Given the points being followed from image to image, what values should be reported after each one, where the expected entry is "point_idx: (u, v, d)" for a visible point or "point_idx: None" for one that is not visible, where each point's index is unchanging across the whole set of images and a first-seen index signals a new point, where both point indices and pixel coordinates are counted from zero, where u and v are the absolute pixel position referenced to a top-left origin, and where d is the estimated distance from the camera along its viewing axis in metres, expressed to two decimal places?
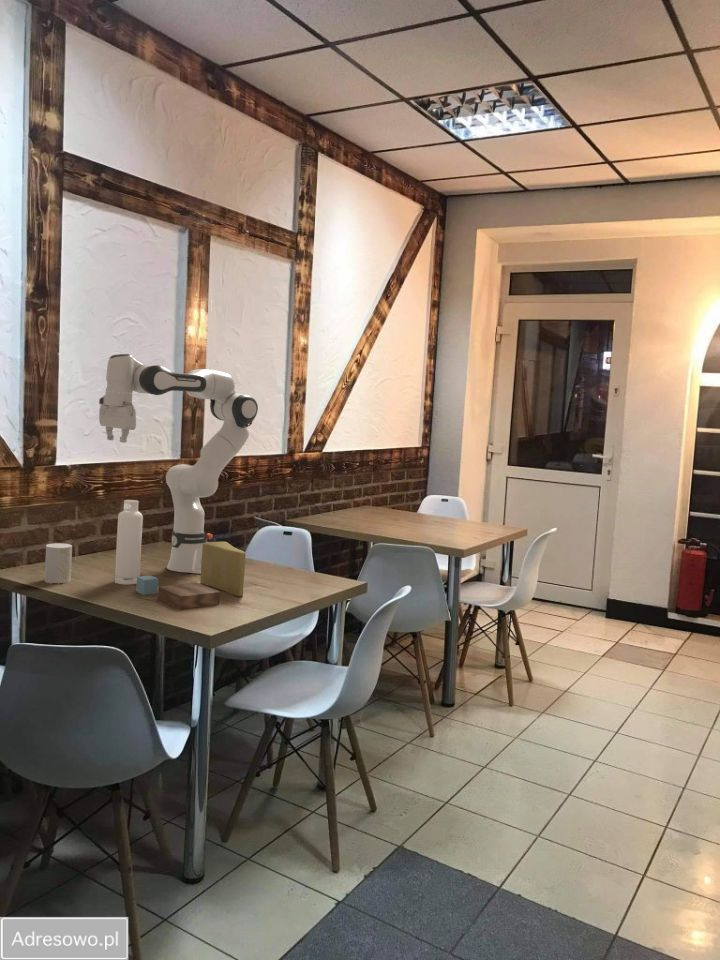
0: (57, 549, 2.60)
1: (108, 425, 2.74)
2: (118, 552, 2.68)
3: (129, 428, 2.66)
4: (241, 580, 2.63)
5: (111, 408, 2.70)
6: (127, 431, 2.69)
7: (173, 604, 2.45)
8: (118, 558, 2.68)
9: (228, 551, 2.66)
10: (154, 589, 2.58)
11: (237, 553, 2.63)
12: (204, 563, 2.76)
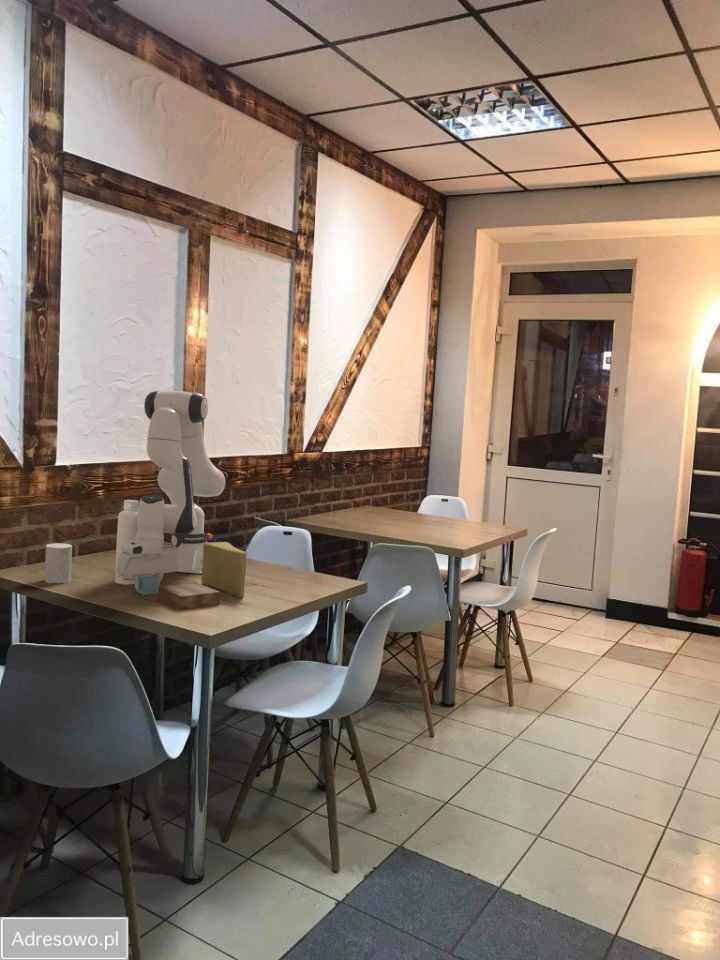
0: (57, 549, 2.60)
1: (142, 573, 2.56)
2: (118, 552, 2.68)
3: None
4: (242, 580, 2.62)
5: (156, 555, 2.57)
6: None
7: (173, 604, 2.45)
8: None
9: (229, 551, 2.66)
10: (154, 588, 2.58)
11: (238, 553, 2.63)
12: (205, 563, 2.75)
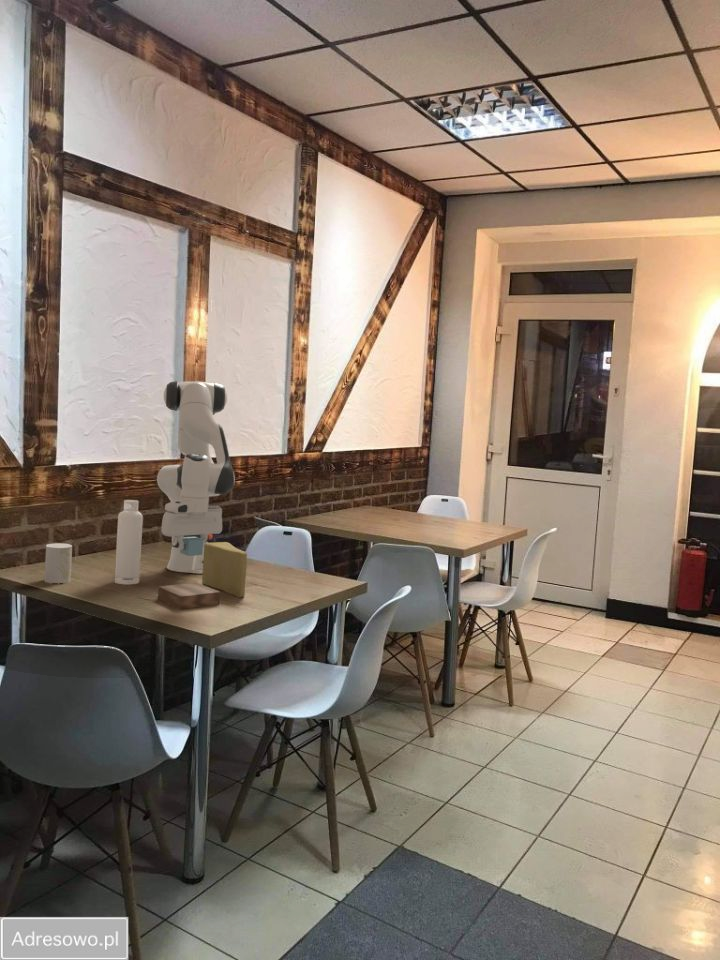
0: (57, 549, 2.60)
1: (186, 534, 2.47)
2: (118, 552, 2.68)
3: None
4: (242, 580, 2.62)
5: (201, 515, 2.48)
6: None
7: (173, 604, 2.45)
8: (118, 558, 2.68)
9: (230, 552, 2.65)
10: (199, 550, 2.50)
11: (238, 554, 2.62)
12: (206, 563, 2.75)
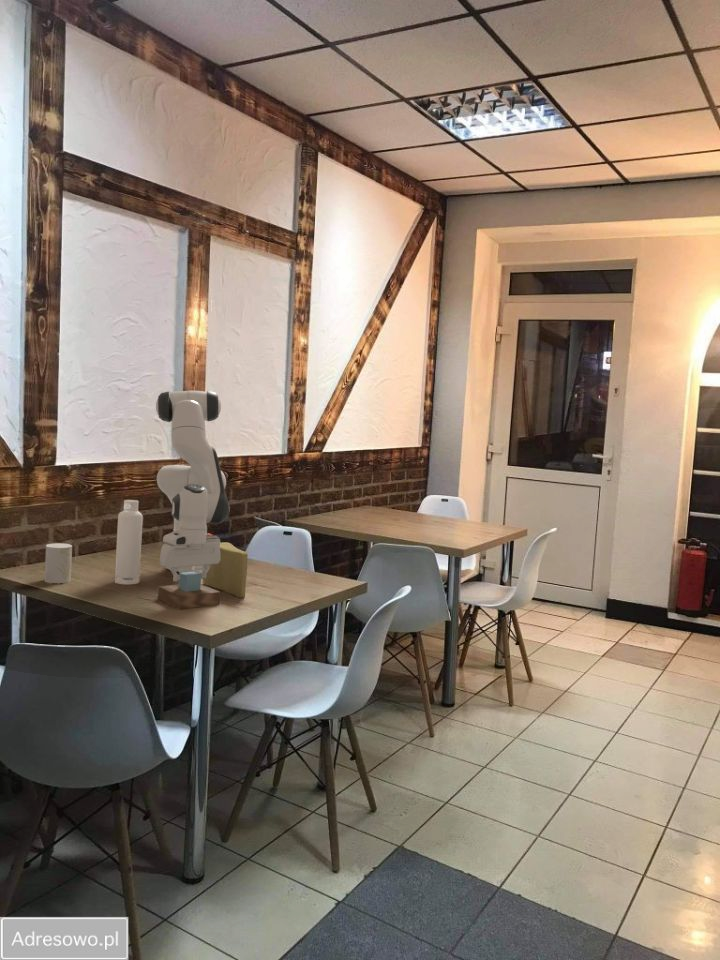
0: (57, 549, 2.60)
1: (185, 565, 2.48)
2: (118, 552, 2.68)
3: None
4: (243, 581, 2.61)
5: (199, 546, 2.49)
6: None
7: (173, 604, 2.45)
8: (118, 558, 2.68)
9: (230, 552, 2.65)
10: (197, 585, 2.51)
11: (239, 554, 2.62)
12: None
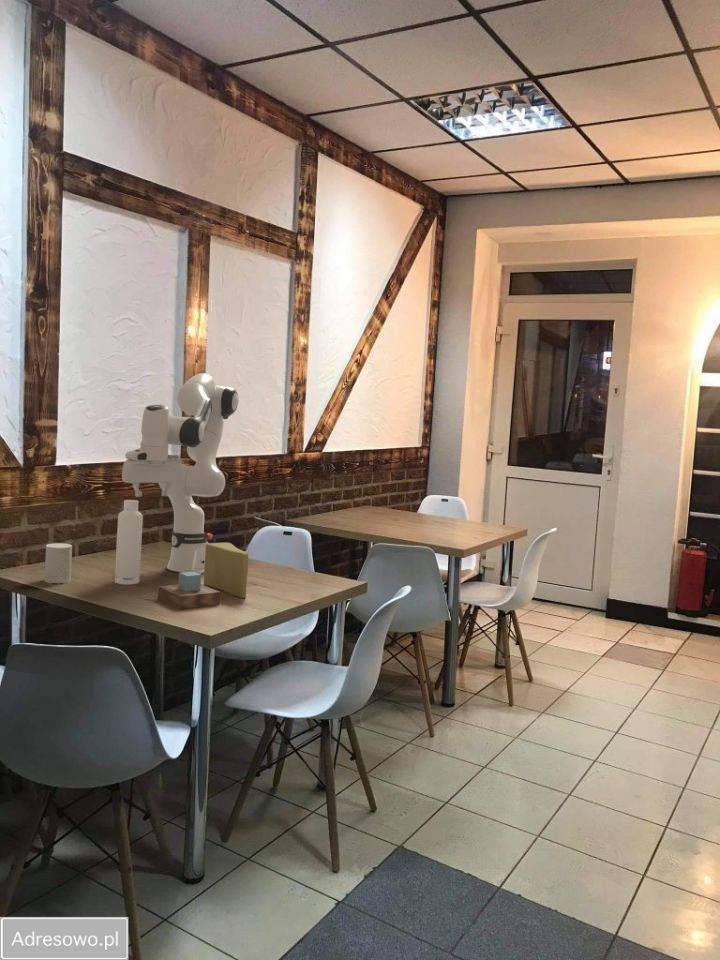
0: (57, 549, 2.60)
1: (146, 481, 2.57)
2: (118, 552, 2.68)
3: None
4: (244, 581, 2.61)
5: (160, 463, 2.58)
6: None
7: (173, 604, 2.45)
8: (118, 558, 2.68)
9: (231, 552, 2.65)
10: (197, 585, 2.51)
11: (240, 554, 2.62)
12: (207, 564, 2.74)
